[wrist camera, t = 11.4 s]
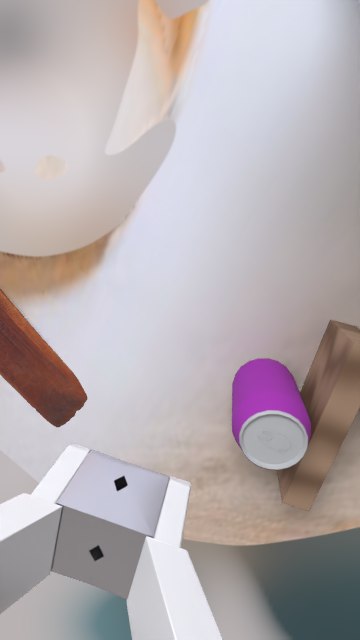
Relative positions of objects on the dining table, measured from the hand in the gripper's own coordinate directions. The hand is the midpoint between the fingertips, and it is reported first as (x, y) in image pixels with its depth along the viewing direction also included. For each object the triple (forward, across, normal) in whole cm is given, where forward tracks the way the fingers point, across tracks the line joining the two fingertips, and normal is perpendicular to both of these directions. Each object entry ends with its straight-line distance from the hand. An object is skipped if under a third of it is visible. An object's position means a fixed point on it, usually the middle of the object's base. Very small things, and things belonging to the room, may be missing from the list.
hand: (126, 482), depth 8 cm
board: (+33, -16, +11) cm, 38 cm away
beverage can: (+33, -10, +12) cm, 36 cm away
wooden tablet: (+34, +24, +18) cm, 45 cm away
